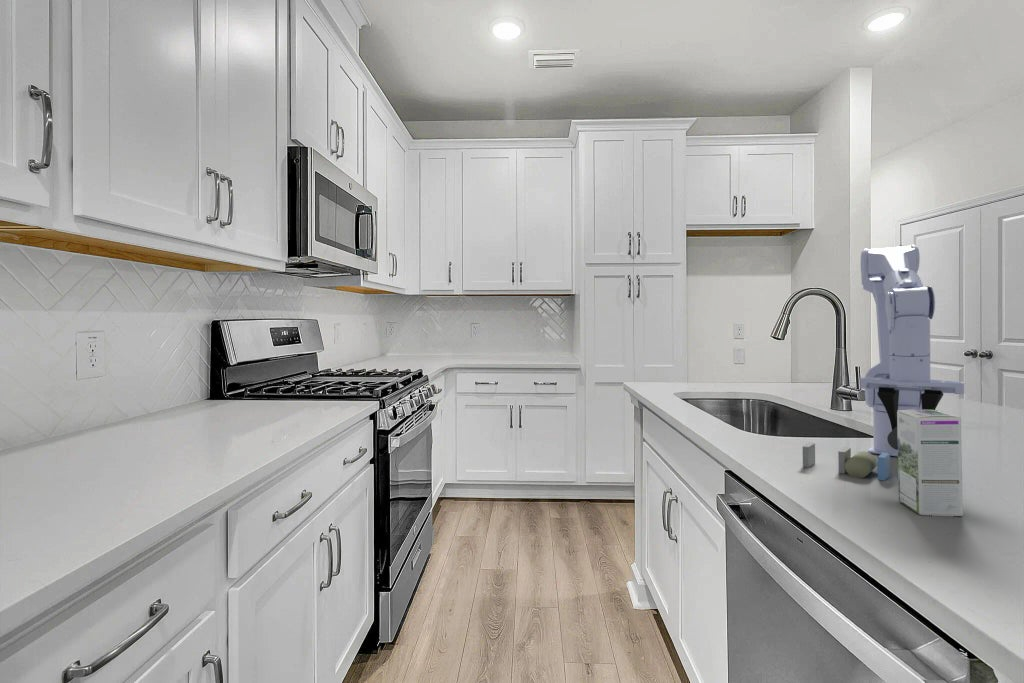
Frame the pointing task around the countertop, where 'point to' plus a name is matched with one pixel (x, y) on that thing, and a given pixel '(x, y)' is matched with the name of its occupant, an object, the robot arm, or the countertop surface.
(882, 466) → the rectangular blocks
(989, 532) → the countertop surface
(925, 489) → the syrup box
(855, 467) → the olive yellow cylinder
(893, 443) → the dark grey cylinder
